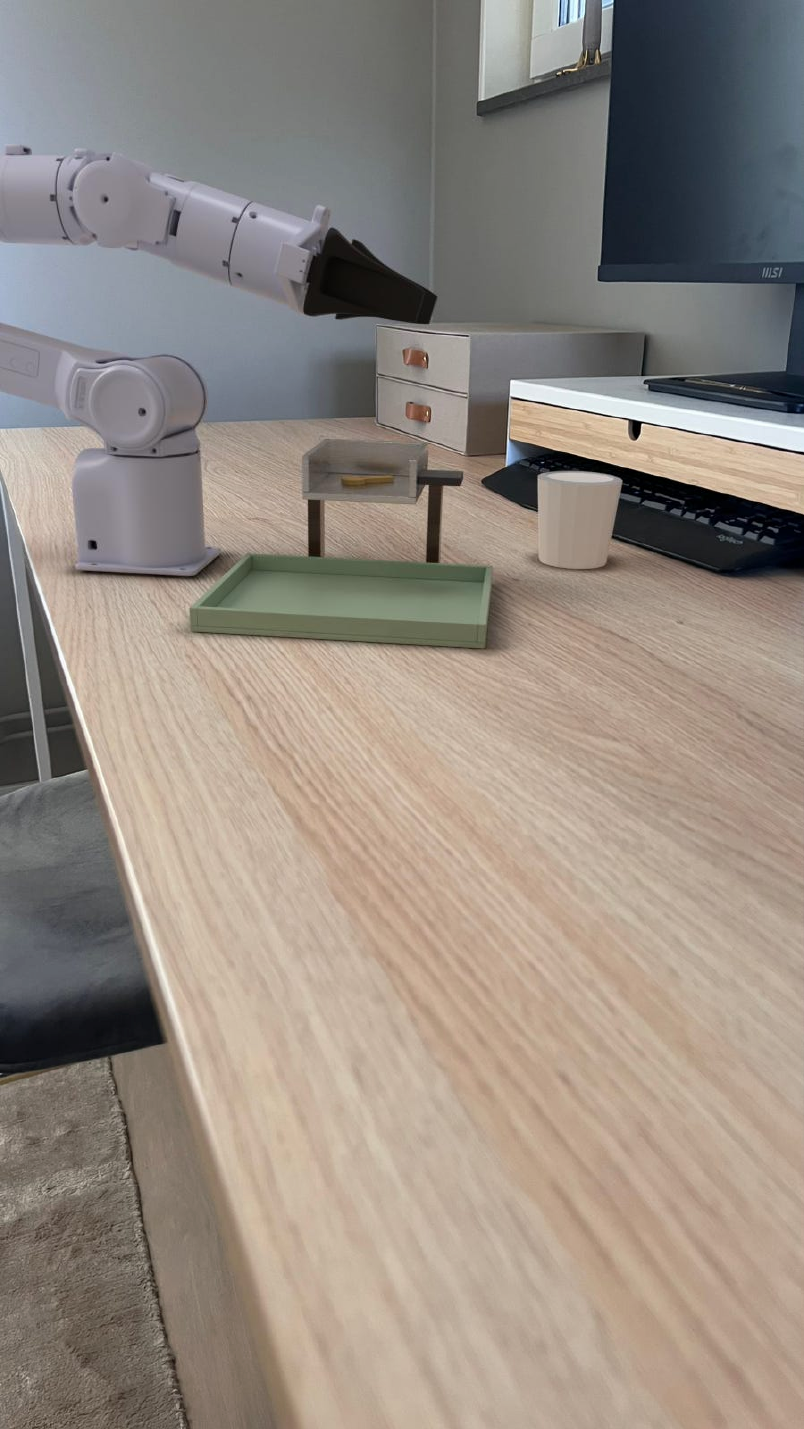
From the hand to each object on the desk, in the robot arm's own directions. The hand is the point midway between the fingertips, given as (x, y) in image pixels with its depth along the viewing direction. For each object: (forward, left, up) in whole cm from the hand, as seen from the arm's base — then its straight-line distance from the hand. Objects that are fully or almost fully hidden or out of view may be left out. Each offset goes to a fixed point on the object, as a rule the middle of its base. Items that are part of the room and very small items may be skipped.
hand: (427, 308), depth 72 cm
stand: (-4, +3, -20) cm, 20 cm away
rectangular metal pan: (-2, -1, -13) cm, 13 cm away
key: (-4, -1, -12) cm, 13 cm away
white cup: (+12, +9, -20) cm, 25 cm away
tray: (-4, -8, -20) cm, 21 cm away
